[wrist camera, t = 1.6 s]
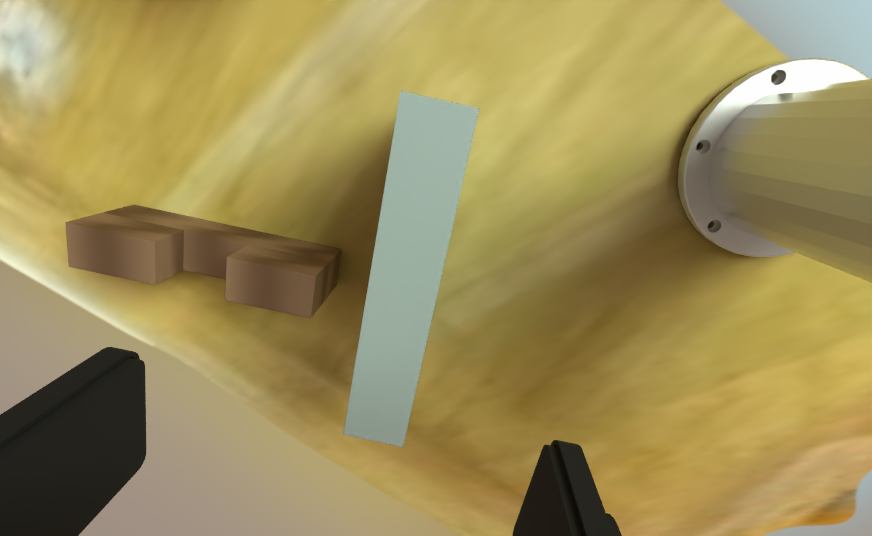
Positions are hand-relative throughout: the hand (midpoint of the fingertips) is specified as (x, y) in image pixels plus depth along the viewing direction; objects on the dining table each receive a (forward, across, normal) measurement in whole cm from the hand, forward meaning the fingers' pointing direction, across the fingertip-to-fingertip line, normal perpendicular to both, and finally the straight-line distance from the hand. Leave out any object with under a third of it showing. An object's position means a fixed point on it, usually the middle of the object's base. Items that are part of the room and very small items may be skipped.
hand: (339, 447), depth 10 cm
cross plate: (+23, 0, 0) cm, 23 cm away
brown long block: (+23, +14, +5) cm, 28 cm away
